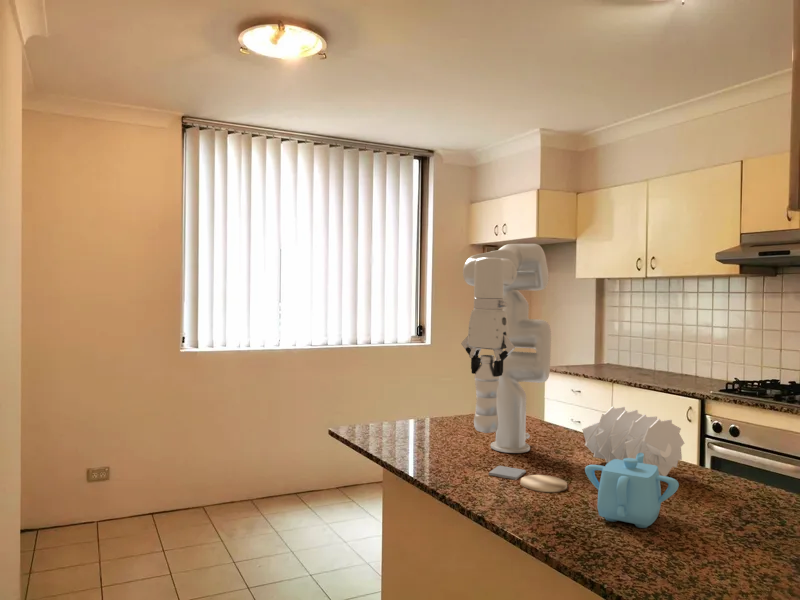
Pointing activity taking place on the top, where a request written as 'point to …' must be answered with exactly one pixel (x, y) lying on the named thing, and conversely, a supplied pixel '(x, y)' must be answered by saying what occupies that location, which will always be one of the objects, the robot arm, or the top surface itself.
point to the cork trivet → (544, 483)
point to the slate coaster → (507, 472)
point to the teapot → (630, 490)
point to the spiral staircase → (635, 438)
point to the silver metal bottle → (486, 396)
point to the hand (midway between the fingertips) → (486, 373)
